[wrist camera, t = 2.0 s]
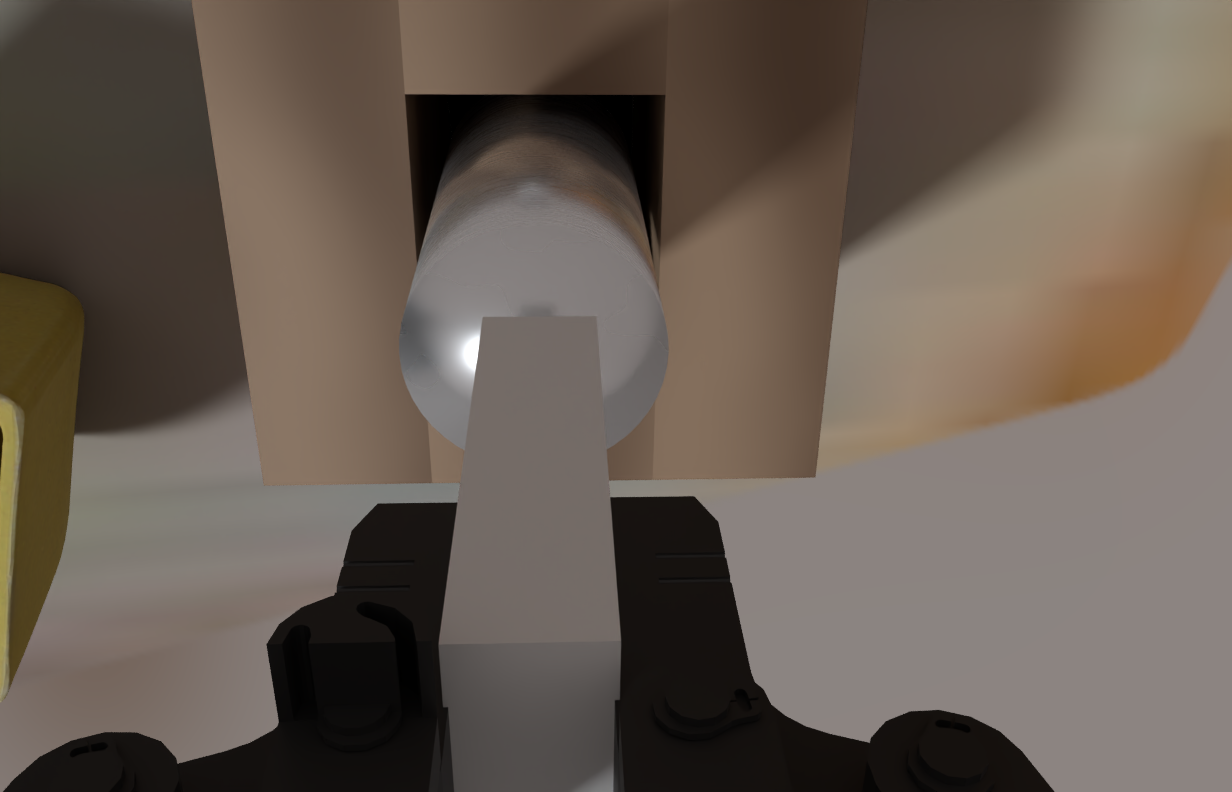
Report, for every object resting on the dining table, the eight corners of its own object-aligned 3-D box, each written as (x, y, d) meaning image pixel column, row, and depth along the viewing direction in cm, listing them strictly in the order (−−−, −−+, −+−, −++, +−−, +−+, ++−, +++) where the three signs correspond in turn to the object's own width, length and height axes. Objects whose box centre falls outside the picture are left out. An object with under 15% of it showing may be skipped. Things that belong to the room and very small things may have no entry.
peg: (451, 259, 26) (408, 470, 18) (441, 78, 24) (388, 225, 16) (629, 258, 26) (664, 466, 18) (633, 79, 24) (673, 225, 17)
